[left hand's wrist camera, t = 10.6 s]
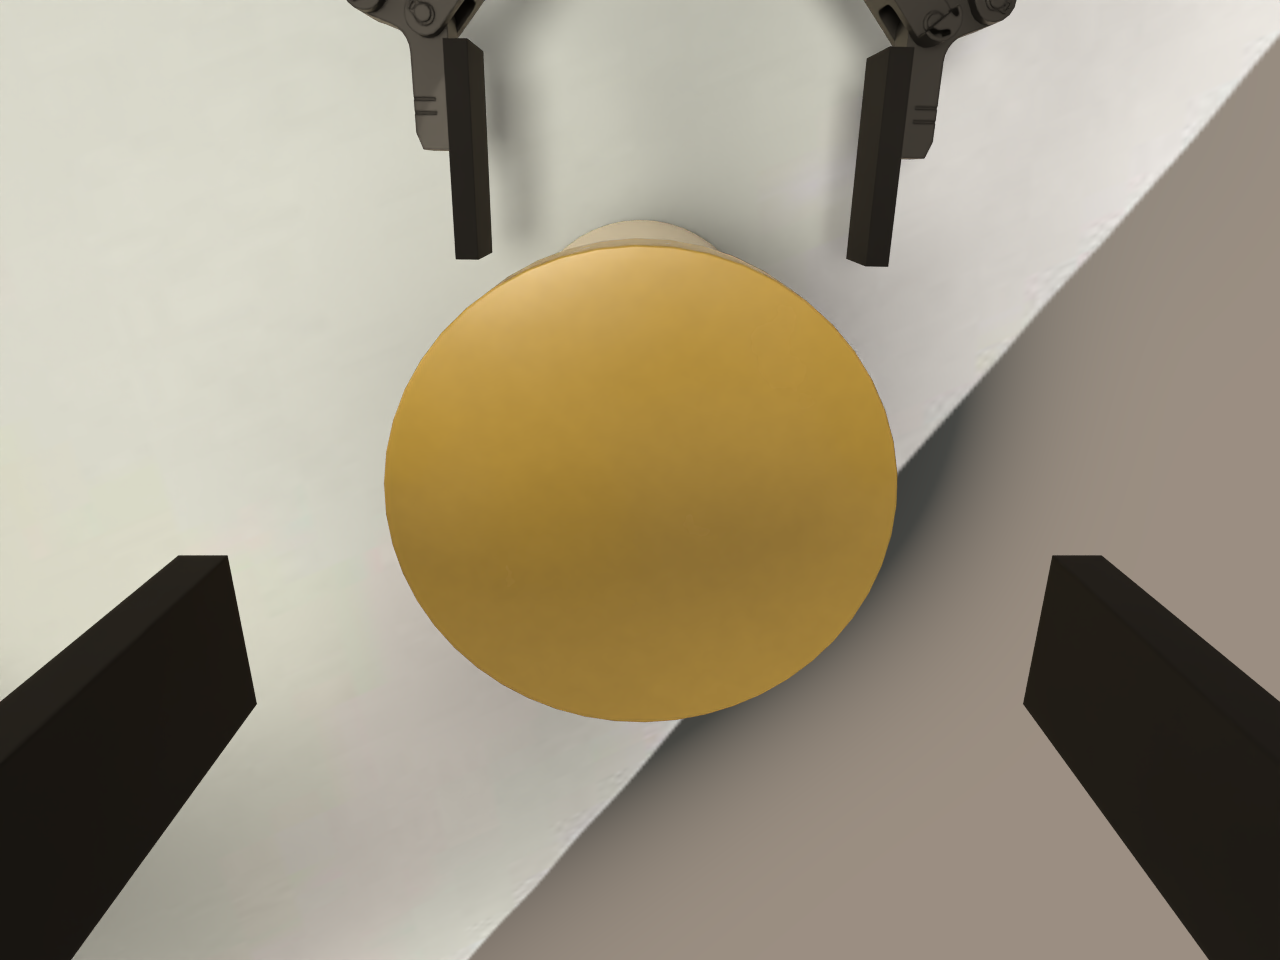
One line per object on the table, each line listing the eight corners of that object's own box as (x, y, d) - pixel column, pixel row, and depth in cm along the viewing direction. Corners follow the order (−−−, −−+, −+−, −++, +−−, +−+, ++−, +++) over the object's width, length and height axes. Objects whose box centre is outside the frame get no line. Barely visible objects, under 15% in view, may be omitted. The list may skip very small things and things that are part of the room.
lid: (721, 739, 22) (728, 788, 20) (337, 562, 20) (308, 599, 18) (969, 390, 19) (1003, 413, 17) (534, 137, 17) (522, 132, 15)
